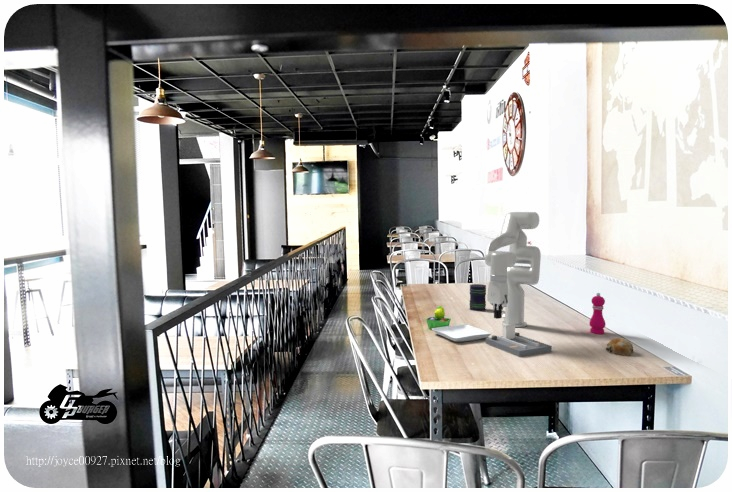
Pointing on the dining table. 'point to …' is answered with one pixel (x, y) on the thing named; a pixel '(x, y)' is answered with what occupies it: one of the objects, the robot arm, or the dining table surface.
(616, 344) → the bread roll
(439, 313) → the fruit basket
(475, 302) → the storage jar
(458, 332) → the salad plate
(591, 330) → the pepper mill
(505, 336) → the block
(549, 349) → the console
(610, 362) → the dining table surface
